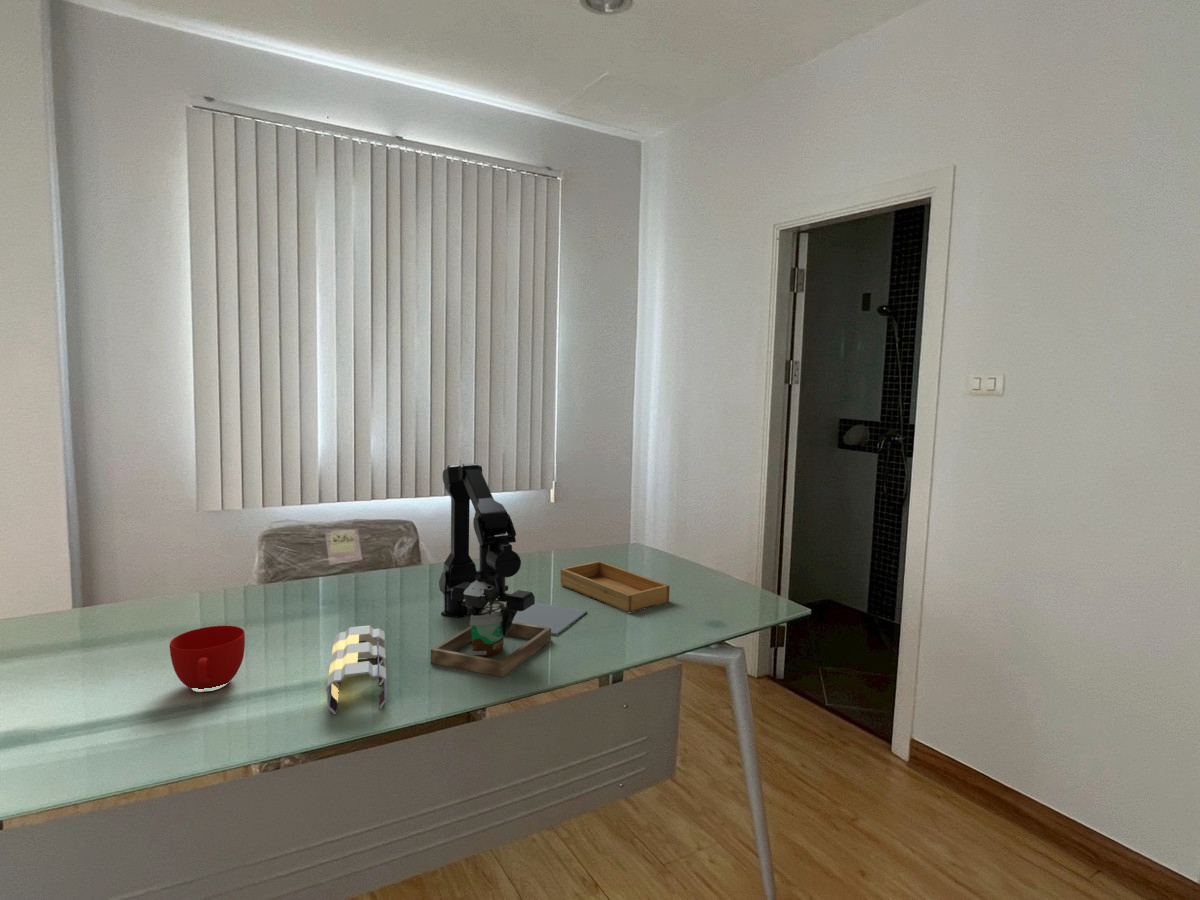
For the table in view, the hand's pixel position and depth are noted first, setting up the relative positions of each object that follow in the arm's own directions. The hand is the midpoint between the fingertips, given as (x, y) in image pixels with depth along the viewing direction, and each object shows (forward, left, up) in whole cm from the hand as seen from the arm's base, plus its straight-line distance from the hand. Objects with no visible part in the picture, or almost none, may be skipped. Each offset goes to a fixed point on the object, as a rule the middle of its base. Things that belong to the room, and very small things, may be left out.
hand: (492, 632), depth 154 cm
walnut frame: (0, 0, -4) cm, 4 cm away
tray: (+9, +50, -5) cm, 51 cm away
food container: (0, 0, -4) cm, 4 cm away
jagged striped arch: (-16, -25, -5) cm, 30 cm away
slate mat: (0, +23, -4) cm, 23 cm away
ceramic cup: (-41, -39, -5) cm, 57 cm away
